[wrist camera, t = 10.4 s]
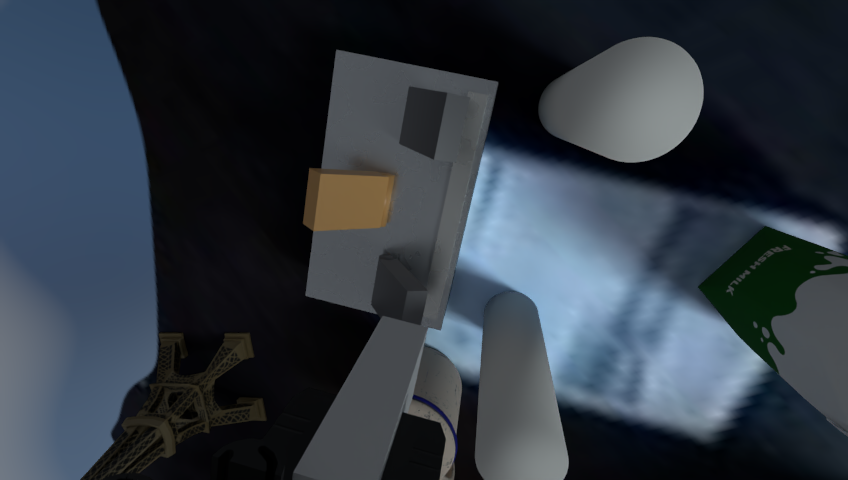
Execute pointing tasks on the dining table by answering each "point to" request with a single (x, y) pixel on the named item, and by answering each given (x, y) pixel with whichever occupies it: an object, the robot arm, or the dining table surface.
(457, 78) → the block
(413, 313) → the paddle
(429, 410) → the teacup with lid
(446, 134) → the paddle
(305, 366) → the dining table surface
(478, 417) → the post far
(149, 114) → the dining table surface
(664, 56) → the post near
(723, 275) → the milk carton
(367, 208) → the block
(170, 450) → the eiffel tower
